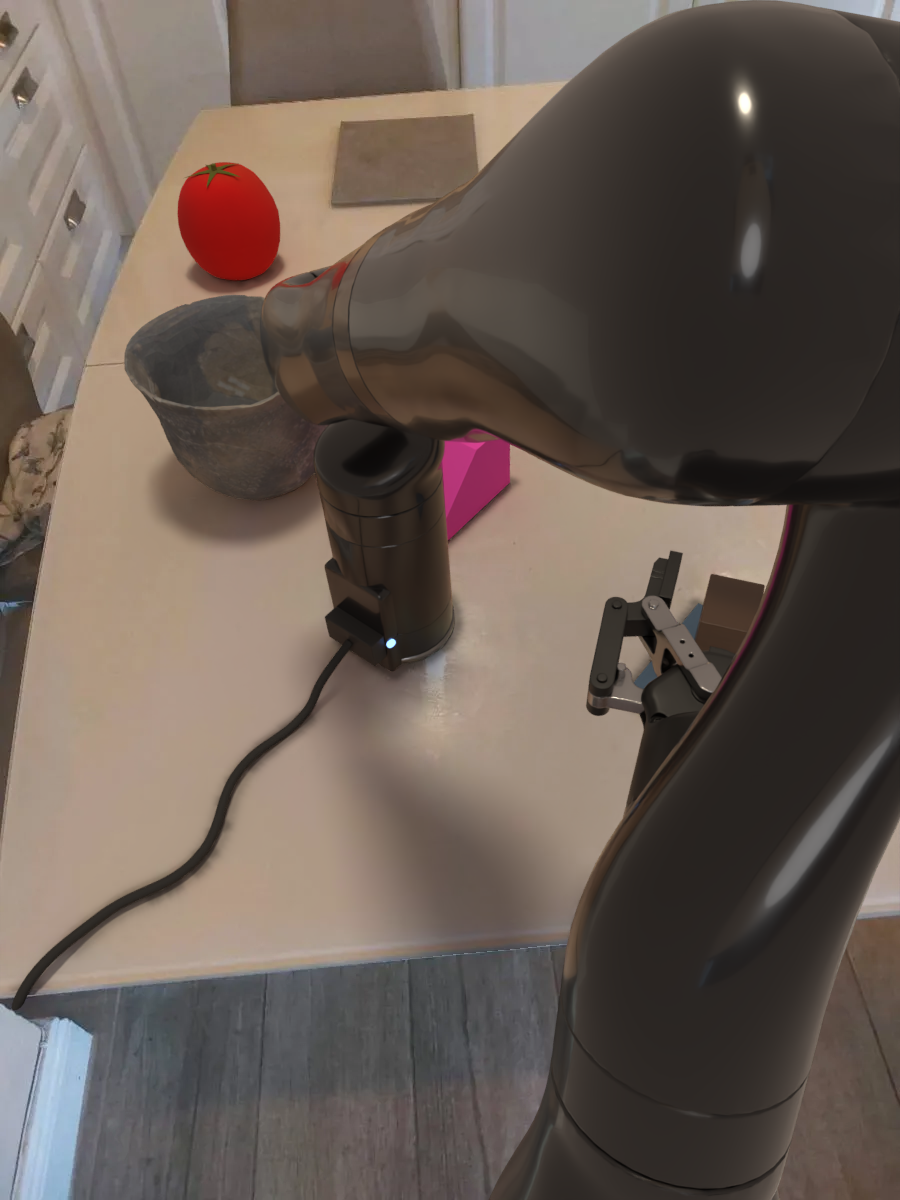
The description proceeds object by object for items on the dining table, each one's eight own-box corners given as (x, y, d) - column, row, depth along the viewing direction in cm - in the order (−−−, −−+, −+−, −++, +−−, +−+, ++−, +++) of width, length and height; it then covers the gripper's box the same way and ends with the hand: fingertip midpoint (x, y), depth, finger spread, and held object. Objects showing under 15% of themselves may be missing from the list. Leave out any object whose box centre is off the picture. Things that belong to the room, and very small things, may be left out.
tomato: (182, 294, 116) (149, 184, 105) (204, 249, 123) (176, 141, 113) (278, 294, 115) (255, 183, 104) (295, 248, 122) (275, 140, 112)
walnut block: (732, 705, 72) (756, 634, 65) (682, 692, 73) (700, 622, 66) (741, 656, 75) (765, 584, 68) (692, 645, 76) (710, 572, 69)
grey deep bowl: (154, 537, 88) (100, 413, 76) (184, 422, 99) (142, 298, 88) (337, 528, 87) (311, 401, 76) (347, 413, 99) (326, 288, 87)
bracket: (429, 443, 95) (422, 360, 87) (509, 482, 90) (509, 397, 83) (352, 509, 89) (337, 425, 81) (433, 553, 85) (426, 470, 77)
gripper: (909, 853, 35) (916, 558, 45) (552, 757, 39) (630, 502, 48) (852, 925, 41) (869, 649, 51) (546, 835, 44) (617, 593, 54)
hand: (752, 578), depth 50 cm, fingers open, 8 cm apart
